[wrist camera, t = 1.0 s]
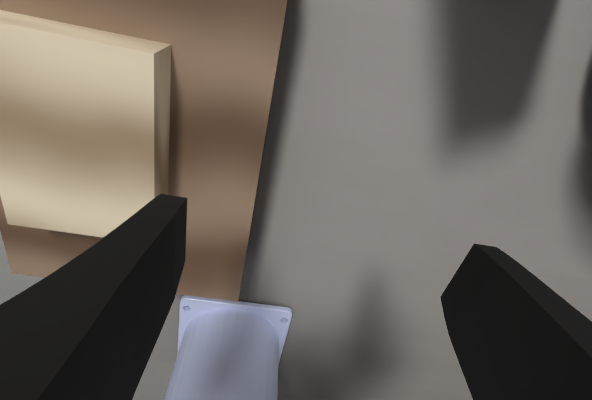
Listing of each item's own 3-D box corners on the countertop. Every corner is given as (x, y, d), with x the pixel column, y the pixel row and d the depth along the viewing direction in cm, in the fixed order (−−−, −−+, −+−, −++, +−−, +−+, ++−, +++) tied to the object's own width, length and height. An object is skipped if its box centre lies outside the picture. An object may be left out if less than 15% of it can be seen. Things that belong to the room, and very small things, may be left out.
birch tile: (167, 219, 17) (154, 244, 16) (36, 199, 17) (7, 224, 15) (171, 44, 13) (153, 53, 12) (-2, 9, 13) (-47, 13, 11)
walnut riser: (245, 256, 24) (238, 301, 20) (54, 229, 22) (12, 273, 19) (300, -78, 15) (303, -97, 11) (-15, -157, 13) (-119, -206, 10)
